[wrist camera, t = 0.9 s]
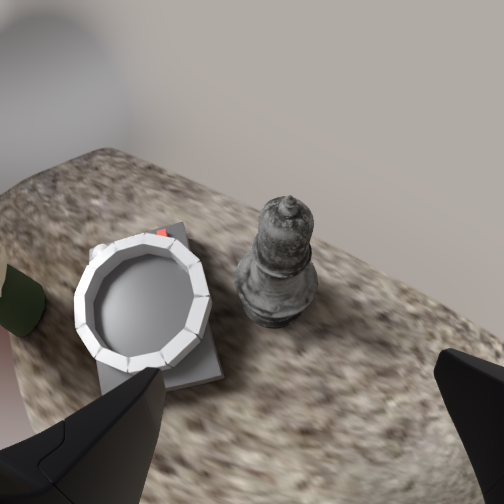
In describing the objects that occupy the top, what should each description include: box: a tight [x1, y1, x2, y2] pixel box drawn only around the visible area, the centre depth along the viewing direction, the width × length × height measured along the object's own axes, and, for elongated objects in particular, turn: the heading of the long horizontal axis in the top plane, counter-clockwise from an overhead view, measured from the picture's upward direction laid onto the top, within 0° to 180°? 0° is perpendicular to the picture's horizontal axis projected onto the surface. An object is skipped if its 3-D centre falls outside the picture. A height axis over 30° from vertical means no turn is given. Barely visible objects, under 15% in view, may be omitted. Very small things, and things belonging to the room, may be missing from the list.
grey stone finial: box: [235, 195, 318, 328], centre depth 18 cm, size 6×6×12 cm
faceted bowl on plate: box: [74, 222, 225, 395], centre depth 20 cm, size 13×10×4 cm
